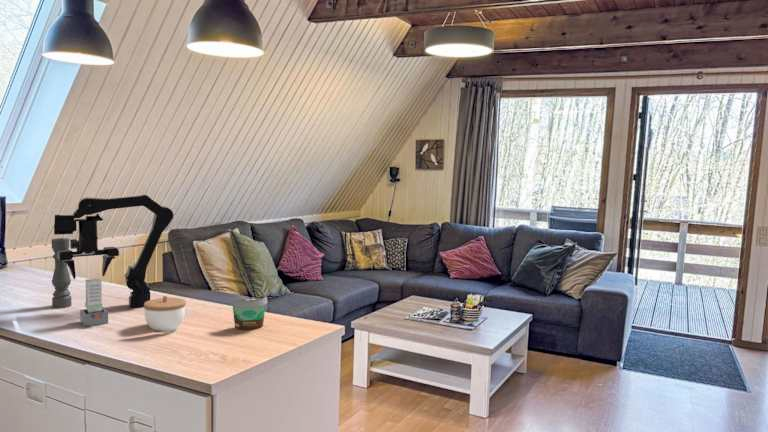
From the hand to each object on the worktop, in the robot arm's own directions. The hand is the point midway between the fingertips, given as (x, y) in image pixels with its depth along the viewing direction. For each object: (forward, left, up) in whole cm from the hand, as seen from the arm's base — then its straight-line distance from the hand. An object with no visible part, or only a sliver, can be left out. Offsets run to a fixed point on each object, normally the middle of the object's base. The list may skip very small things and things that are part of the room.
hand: (89, 277), depth 195 cm
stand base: (+2, +17, -13) cm, 22 cm away
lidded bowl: (-16, +33, -13) cm, 39 cm away
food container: (-40, +46, -13) cm, 63 cm away
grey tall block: (+2, +17, -8) cm, 19 cm away
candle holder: (+7, -16, -13) cm, 21 cm away
